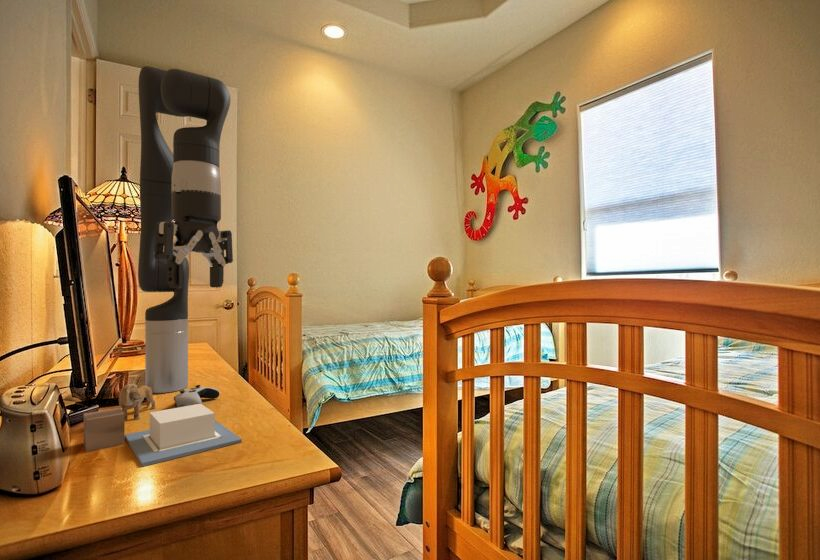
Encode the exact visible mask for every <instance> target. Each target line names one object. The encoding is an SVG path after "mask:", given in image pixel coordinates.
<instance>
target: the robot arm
mask: <svg viewBox="0 0 820 560" xmlns="http://www.w3.org/2000/svg"><path fill="white" fill-rule="evenodd" d="M139 71H140V72H139V74H138V104H139V105H138V106H139V107H138V108H139V120H140V121H139V124H140V164H139V165H140V167H139V169H140V170H139V206H140V207H139V208H140V209H139V211H140V238H139V250H138V251H139V252H138V253H139V254H138V268H137V269H138V270H137V280H138V286H139V288H140V290H141V291H142V292H145V293H173V295H172V296H171V298H169V299H168V300H165V301H164V302H163V303H160V304H156V305H154V306H150V307H148V308H146V310H145V312H144V313H145V314H144V317H145V318H144V320H145V321H144V322H145V323H144V325H145V327H144V328H145V329H144V333H145V340H144V341H145V350H144V352H145V356H144V357H145V361H144V362H145V363H144V365H145V367H144V368H145V369H144V373H145V375H144V376H145V379H144V380H145V382H144V383H145V385H144V386H148V387H150V388H151V390H152V394H163V393H171V392H172V393H173V392H177V391H182V390H185V389H187V388H189V311H188V310H189V282H190V264H189V261H188V258H187V257H186V256H187V255H189V254H191V253H192V252H194V253H198V254H202V256H203V257H205V258H206V259H207V261H208V263H209V265H210V266H209V287H210V288H222V286H223V284H224V282H225V281H224V280H225V279H224V275H225V273H224V268H225V266H226V265H228V264H231V263H233V261H234V258H233V257H234V256H233V255H234V254H233V236H232V235H233V233H232V231H231V230H230V229H228V230H219V229H218V223H219V222H221V220H222V181H221V173H220V145H221V144H220V143H221V137H222V131H223V127H224V124H225V121H226V119H227V115H228V113H229V110H230V106H231V94H230V90H229V89H228V87H227V85H226V84H225V83H224V82H223V81H221V80H220V79H217V78H213V77H211V76H206V75H202V74H198V73H195V72H191V71H188V70H183V69H179V68H170V69H167V70H165V69H161V68H157V67H153V66H149V65H148V66H147V65H145V66H143V67H142V68H141V69H140V70H139ZM157 113H158V114H163V115H168V116H174V117H181V118H185V117H190V118H196V119H201V120H204V121H206V124H205V125H203V126H187V127H181V128H178V129H176V130H175V131H174V133H173V142H172V143H173V144H172V148H173V151H172V150H171V149H170V146H169V145H168V143H167V142H166V140H165V137H164V135H163V133H162V131H161V128H160V125H159V123H158V118H157ZM173 220H174V221H173ZM174 236H175V239H174Z"/></svg>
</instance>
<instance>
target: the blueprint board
mask: <svg viewBox="0 0 820 560" xmlns="http://www.w3.org/2000/svg"><path fill="white" fill-rule="evenodd" d="M125 440H126V442H127V443H128V446H129V447H130V449H131V451H132V452H133V454H134V455H135V457H136V458H137V460H138V462H139V463H140V465H141V467H146V466H150V465H154V464H158V463H162V462H166V461H172V460H175V459H179V458H184V457H188V456H191V455H196V454H200V453H202V452H208V451H211V450H215V449H218V448H219V449H220V448H224V447H228V446H232V445H236V444H241V443H242V442H243V439H242V438H241V437H240V436H238V435H237V434H236V433H234V432H232V430H230V429H229V428H227V427H226V426H225V425H223V424H222V423H220V422H218V421H217V420H216V419H215V437H214V438H209V439H205V440H200V441H196V442H192V443H187V444H183V445H179V446H174V447H170V448H166V449H161V450H160V449H159V448H158V446H157V445H156V444H155V442H154V441H153V440H152V439H151V437H150V429H146V430H145V429H144V430H140V431H136V432H130V433H126V434H125Z"/></svg>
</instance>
